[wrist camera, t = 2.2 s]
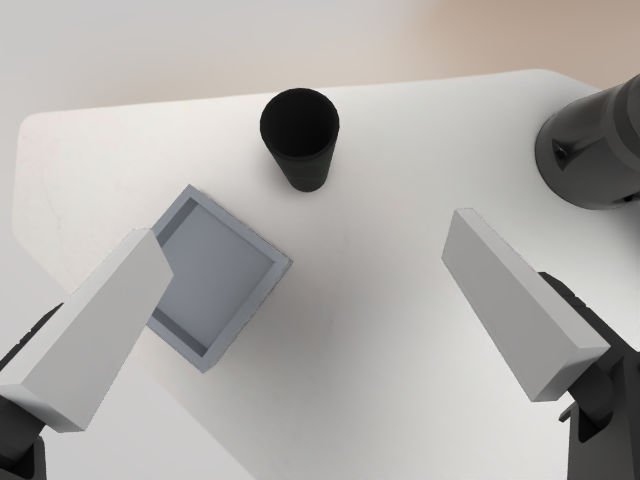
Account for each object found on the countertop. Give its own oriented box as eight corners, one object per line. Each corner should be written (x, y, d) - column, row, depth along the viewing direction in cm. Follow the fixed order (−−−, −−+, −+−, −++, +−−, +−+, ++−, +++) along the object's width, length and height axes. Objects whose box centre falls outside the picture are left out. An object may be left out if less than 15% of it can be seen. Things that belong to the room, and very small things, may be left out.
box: (201, 192, 38) (189, 183, 34) (293, 262, 36) (289, 260, 33) (123, 286, 36) (101, 287, 33) (215, 364, 34) (203, 373, 31)
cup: (276, 197, 38) (254, 157, 26) (282, 145, 39) (264, 84, 27) (332, 201, 37) (336, 164, 25) (337, 149, 38) (342, 90, 27)
